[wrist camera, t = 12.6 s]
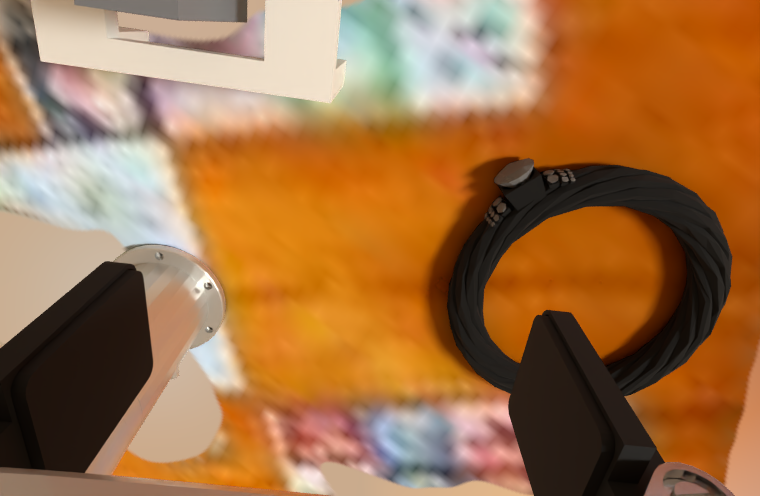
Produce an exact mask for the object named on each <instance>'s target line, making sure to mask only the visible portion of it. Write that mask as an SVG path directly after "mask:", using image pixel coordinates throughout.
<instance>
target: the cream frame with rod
mask: <svg viewBox="0 0 760 496" xmlns="http://www.w3.org/2000/svg"><path fill="white" fill-rule="evenodd" d="M341 5H342V0H266V5H265V43H264V59H262V58H255V57H248V56H241V55H234V54H228V53H221V52H214V51H207V50H200V49H194V48H187V47H180V46H173V45H166V44H160V43H153V42H149V31H145V30H138V29H131V28H124V27H118V18H117V11H112V10H105V9H98V8H91V7H85V6H78V5H74V0H31V6H32V12H33V18H34V24H35V30H36V36H37V42H38V48H39V54H40V60H41V61H42V62H49V63H56V64H63V65H70V66H77V67H84V68H91V69H98V70H105V71H112V72H119V73H126V74H133V75H139V76H146V77H153V78H160V79H167V80H174V81H181V82H188V83H195V84H202V85H209V86H216V87H223V88H230V89H237V90H243V91H250V92H257V93H264V94H271V95H278V96H285V97H292V98H299V99H306V100H313V101H320V102H327V103H331V102H332V100H333V99H334V98H335V96H336V95H337V94H338V92H339V91H340V90H341V88H342V87H343V86H344V80H345V70H346V60H341V59H337V50H338V38H339V27H340V16H341Z"/></svg>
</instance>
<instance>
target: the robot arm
mask: <svg viewBox="0 0 760 496" xmlns="http://www.w3.org/2000/svg"><path fill="white" fill-rule="evenodd" d="M225 311H226V300H225V296H224V292H223V289H222V287H221V285H220V283H219V281H218V279H217V278H216V277H215V275H214V274H213V272H212V271H211V270H210V269H209V268H208V267H207V266H206V265H205V264H204V263H202V262H201V261H200V260H198V259H197V258H195V257H194V256H192V255H190V254H188V253H186V252H184V251H182V250H179V249H176V248H173V247H169V246H163V245H144V246H139V247H135V248H133V249H130V250H128V251H126V252H124V253H123V254H122V255H120V256H119V257H118V258H117V259H115V261H114V262H109V261H107V262H104V263H102V264H101V265H100V266H99V267H97V268H96V269H95V270H94V271H93V272H91V273H90V274H89V275H88V276H87V277H85V278H84V279H83V280H82V281H81V282H79V283H78V284H77V285H76V286H75V287H74V288H72V289H71V290H70V291H69V292H67V293H66V294H65V295H64V296H63V297H61V298H60V299H59V300H58V301H57V302H56V303H54V304H53V305H52V306H51V307H49V308H48V309H47V310H46V311H45V312H43V314H41V315H40V316H39V317H37V318H36V319H35V320H34V321H33V322H31V323H30V324H29V325H28V326H27V327H25V328H24V329H23V330H22V331H21V332H20V333H18V334H17V335H16V336H15V337H13V338H12V339H11V340H10V341H9V342H7V343H6V344H5V345H4V346H3V347H1V348H0V496H329V495H319V494H308V493H298V492H287V491H277V490H266V489H256V488H245V487H235V486H224V485H213V484H202V483H191V482H179V481H168V480H157V479H146V478H135V477H124V476H113V475H112V474H113V472H114V470H115V468H116V467H117V465H118V463H119V462H120V460H121V458H122V457H123V455H124V453H125V451H126V450H127V448H128V447H129V445H130V443H131V442H132V440H133V438H134V437H135V435H136V433H137V432H138V431H139V429H140V427H141V425H142V424H143V422H144V421H145V419H146V417H147V416H148V414H149V413H150V411H151V410H152V408H153V406H154V405H155V403H156V401H157V400H158V398H159V397H160V395H161V393H162V392H163V390H164V389H165V387H166V385H167V384H168V382H169V380H170V379H174V378H177V377H178V376H179V364H180V363H181V361H182V359H183V358H184V356H185V355H186V353H187V351H188V350H189V349H192V348H195V347H198V346H200V345H202V344H204V343H205V342H207V341H209V340H210V339H211V338H212V337H213V336H214V335H215V334H216V332H217V331H218V329H219V328H220V326H221V324H222V322H223V320H224V316H225ZM508 409H509V416H510V419H511V422H512V425H513V429H514V432H515V435H516V438H517V442H518V445H519V448H520V452H521V455H522V458H523V461H524V465H525V468H526V471H527V474H528V478H529V481H530V484H531V487H532V491H533V494H534V496H734V495H733V493H732V492H731V491H730V490H729V489H727V488H726V487H725V486H724V485H723V484H722V483H721V482H720V481H718V480H716V479H715V478H713V477H712V476H710V475H709V474H707V473H706V472H704V471H701V470H699V469H697V468H695V467H693V466H690V465H686V464H682V463H677V462H667V463H665V462H664V460H663V459H662V457H661V456H660V454H659V452H658V451H657V448H656V446H655V445H654V443H653V441H652V440H651V438H650V437H649V435H648V433H647V432H646V430H645V429H644V427H643V425H642V424H641V422H640V421H639V419H638V418H637V416H636V414H635V413H634V411H633V410H632V408H631V406H630V405H629V403H628V402H627V400H626V398H625V397H624V395H623V394H622V392H621V391H620V389H619V387H618V386H617V384H616V383H615V381H614V379H613V378H612V376H611V375H610V373H609V372H608V370H607V368H606V367H605V365H604V364H603V362H602V360H601V359H600V357H599V356H598V354H597V352H596V351H595V349H594V348H593V346H592V345H591V343H590V341H589V340H588V338H587V337H586V335H585V333H584V332H583V330H582V329H581V327H580V325H579V324H578V322H577V321H576V319H575V318H574V316H573V315H572V314H571V313H569V312H561V311H552V310H546V311H544V312H543V314H542V315H537V316H536V317H535V319H534V321H533V324H532V328H531V331H530V334H529V337H528V340H527V344H526V347H525V350H524V353H523V357H522V360H521V363H520V366H519V369H518V373H517V376H516V379H515V382H514V385H513V389H512V392H511V395H510V398H509V405H508Z"/></svg>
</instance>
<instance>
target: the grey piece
mask: <svg viewBox="0 0 760 496" xmlns="http://www.w3.org/2000/svg"><path fill="white" fill-rule="evenodd" d="M74 5H78V6H85V7H91V8H98V9H105V10H112V11H119V12H125V13H132V14H139V15H146V16H153V17H160V18H166V19H173V20H184V21H217V22H247V0H74Z"/></svg>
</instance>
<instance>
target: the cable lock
mask: <svg viewBox="0 0 760 496" xmlns="http://www.w3.org/2000/svg"><path fill="white" fill-rule="evenodd" d="M533 166H534V161H533V160H532V159H529V158H528V159H523V160H519V161H516V162H513V163H509V164H508V165H507V166H505V167H504V168H503V169H502V170H501V171H500V172H499V174H498V175H497V176H496V177H495V178H494V183H496V184H498V186H499V188H500V189H501V191H502V192H503V194H504V195H505V197H506V198H507V200H506V201H504V199H503V198H501V196H499V197H498V198H497V199H496V200H495V201H494V202H493V205H491V206H490V208H489V210H488V211H489V212H487V213H486V214H485V218H486V219H485V220H484V221H483V222H482V223H481V224H480V225H479V226H478V227H477V228H476V230H475V231H474V232H473V234H472V235H471V236H470V238H469V239H468V240H467V242H466V243H465V244H464V246H463V248H462V250H461V252H460V254H459V256H458V259H457V262H456V264H455V267H454V272H453V276H452V278H451V281H450V283H449V291H448V302H447V308H448V314H449V320H450V327H451V330H452V333H453V336H454V339H455V342H456V345H457V347H458V348H459V350H460V351H461V352H462V354H463V356H464V358H465V359H466V360H467V361H468V363H469V364H470V365H471V367H472V368H473V369H474V370H475V372H476V373H477V374H478V375H480V376H481V377H482V378H484V379H485V380H486V381H488V382H489V383H490V384H492V385H493V386H495V387H497V388H499V389H501V390H504V391H506V392H508V393H510V394H511V392H512V389H513V385H514V382H515V379H516V376H517V373H518V369H519V366H520V364H519V363H516V362H515V361H513V360H512V359H511V358H509V357H508V356H507V355H505V354H504V353H503V352H502V351H501V350H500V349H499V348H498V346H497V345H496V344H495V343H494V342H493V341H492V340H491V339H490V336H489V334H488V332H487V330H486V328H485V326H484V318H483V299H484V288H485V285H486V283H487V281H488V279H489V278H490V276H491V274H492V272H493V271H494V269H495V267H496V265H497V264H498V262H499V260H500V258H501V257H502V256H503V254H504V253H505V252H506V251H507V249H508V248H509V247H510V246H511V244H512V243H513V242H515V241H516V240H518V239H519V238H520V237H522V236H523V235H525V234H526V233H528V232H529V231H530V230H532V229H533V228H535V227H536V226H537V225H539V224H540V223H542V222H543V221H545V220H546V219H548V218H550V217H553V216H556V215H560V214H563V213H566V212H570V211H573V210H577V209H580V208H583V207H591V206H625V207H629V208H632V209H635V210H638V211H641V212H644V213H647V214H650V215H653V216H655V217H656V218H657V219H659V220H660V221H662V222H663V223H664V224H666V225H667V226H669V227H670V228H671V229H672V230H673V232H674V234H675V235H676V237H677V239H678V240H679V242H680V244H681V246H682V247H683V249H684V251H685V253H686V264H687V281H686V287H685V291H684V294H683V297H682V300H681V302H680V304H679V306H678V308H677V310H676V312H675V313H674V315H673V317H672V318H671V320H670V321H669V323H668V324H667V325H666V327H665V328H664V330H663V331H662V332H661V333H659V334H658V335H657V336H656V337H655V338H653V339H652V340H651V341H650V342H649V343H647V344H646V345H645V346H644V347H643V348H642V349H640V350H639V351H638V352H637V353H636V354H634V355H631V356H629V357H626V358H624V359H622V360H620V361H617V362H615V363H613V364H611V365H608V366H606V368H607V370H608V372H609V373H610V375H611V376H612V378H613V379H614V381H615V383H616V384H617V386H618V387H619V389H620V391H621V392H622V394H623V395H624V396H628V395H631V394H633V393H636V392H638V391H640V390H642V389H644V388H646V387H648V386H650V385H652V384H654V383H656V382H658V381H659V380H660V379H661V378H663V377H664V376H666V375H668V374H670V373H671V372H672V371H674V370H675V369H677V368H678V367H680V366H681V365H683V364H684V363H686V362H687V361H688V359H689V358H690V357H691V356H692V354H693V353H694V352H695V350H696V349H697V348H698V347H699V346H700V345H701V344H702V343H703V342H704V341H705V340H706V339H707V338H708V336H709V335H710V334H711V332H712V330H713V328H714V326H715V323H716V321H717V319H718V317H719V314H720V312H721V310H722V308H723V307H724V305H725V303H726V300H727V296H728V293H729V290H730V287H731V279H730V274H731V264H732V255H731V252H730V249H729V246H728V243H727V240H726V237H725V235H724V233H723V229H722V227H721V225H720V222H719V220H718V218H717V215H716V213H715V212H714V211H713V210H712V209H710V208H709V207H708V206H706V204H705V203H704V202H703V201H702V200H701V198H700V197H699V196H698V195H697V193H695V192H693V191H691V190H690V189H688V188H686V187H684V186H683V185H681V184H679V183H677V182H676V181H674V180H672V179H671V178H670V177H667V176H664V175H660V174H657V173H654V172H650V171H647V170H639V169H634V168H629V167H624V166H618V165H606V166H589V167H586V168H582V169H579V170H572V171H570V169H562V170H560V169H553V170H547V171H543V172H541V173H539V172H538V171H537V170H536V169H535V168H534V167H533ZM541 174H542V175H541Z"/></svg>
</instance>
